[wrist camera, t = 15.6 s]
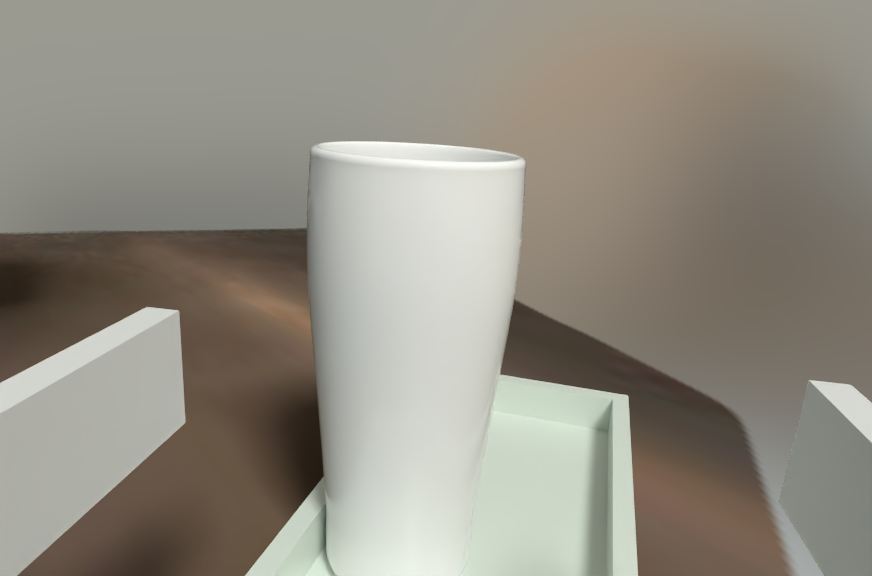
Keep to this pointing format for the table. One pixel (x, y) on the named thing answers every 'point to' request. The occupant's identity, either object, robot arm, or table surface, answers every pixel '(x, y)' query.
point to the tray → (522, 492)
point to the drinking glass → (408, 342)
